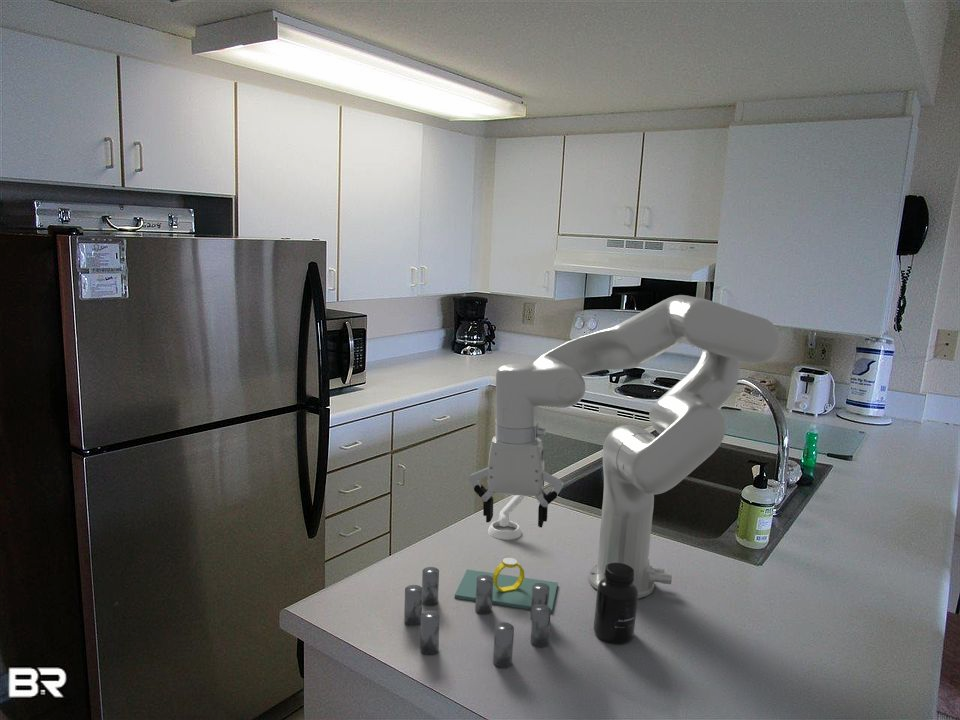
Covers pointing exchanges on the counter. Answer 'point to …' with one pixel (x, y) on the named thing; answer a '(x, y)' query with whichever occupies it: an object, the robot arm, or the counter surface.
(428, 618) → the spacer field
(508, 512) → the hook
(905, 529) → the counter surface
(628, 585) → the supplement bottle
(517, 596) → the mat
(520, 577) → the watch
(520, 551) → the counter surface
